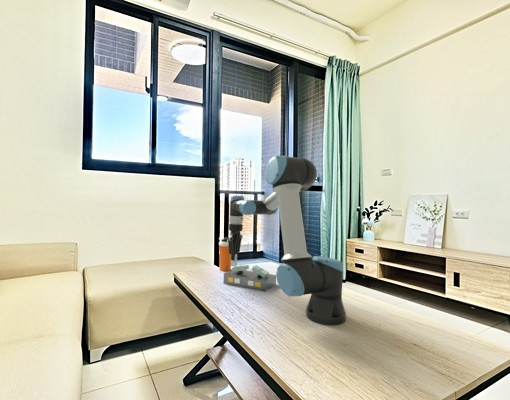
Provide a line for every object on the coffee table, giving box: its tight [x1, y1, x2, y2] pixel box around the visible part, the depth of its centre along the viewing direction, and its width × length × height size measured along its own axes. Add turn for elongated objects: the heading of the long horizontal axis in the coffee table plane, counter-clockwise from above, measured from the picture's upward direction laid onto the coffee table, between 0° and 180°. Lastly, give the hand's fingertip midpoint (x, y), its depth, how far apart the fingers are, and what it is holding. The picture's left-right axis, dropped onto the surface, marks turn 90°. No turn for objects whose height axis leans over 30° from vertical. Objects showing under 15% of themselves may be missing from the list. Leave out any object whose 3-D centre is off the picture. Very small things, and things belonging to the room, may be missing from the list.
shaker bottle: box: [218, 237, 232, 272], centre depth 177 cm, size 9×9×20 cm
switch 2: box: [251, 264, 270, 278], centre depth 146 cm, size 5×8×2 cm, turn 64°
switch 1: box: [231, 264, 250, 272], centre depth 151 cm, size 5×8×2 cm, turn 64°
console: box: [223, 269, 277, 292], centre depth 149 cm, size 13×25×6 cm, turn 64°
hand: (233, 265), depth 153 cm, fingers closed
